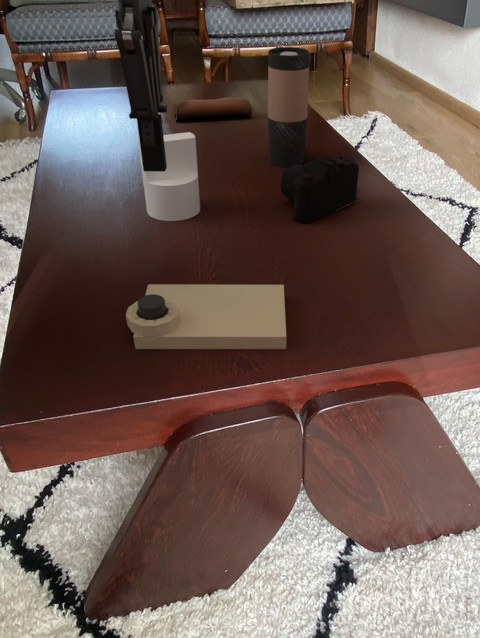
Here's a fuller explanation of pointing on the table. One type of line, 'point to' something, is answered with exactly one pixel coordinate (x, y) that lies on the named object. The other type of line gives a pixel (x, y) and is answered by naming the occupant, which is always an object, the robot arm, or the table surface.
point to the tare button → (151, 307)
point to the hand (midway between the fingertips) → (155, 169)
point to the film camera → (320, 187)
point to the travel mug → (287, 105)
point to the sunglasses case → (213, 107)
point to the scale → (213, 318)
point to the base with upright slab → (174, 181)
